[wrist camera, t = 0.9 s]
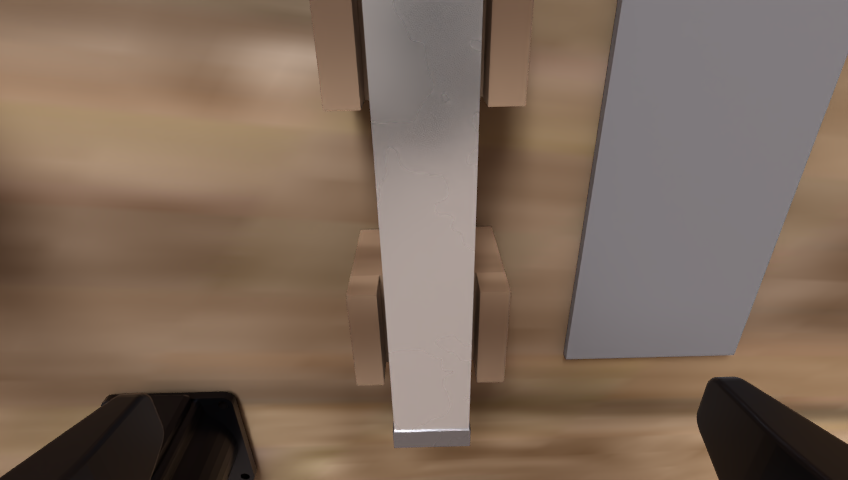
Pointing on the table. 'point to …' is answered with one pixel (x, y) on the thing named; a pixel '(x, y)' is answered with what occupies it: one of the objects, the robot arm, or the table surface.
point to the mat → (697, 168)
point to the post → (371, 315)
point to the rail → (426, 205)
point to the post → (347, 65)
